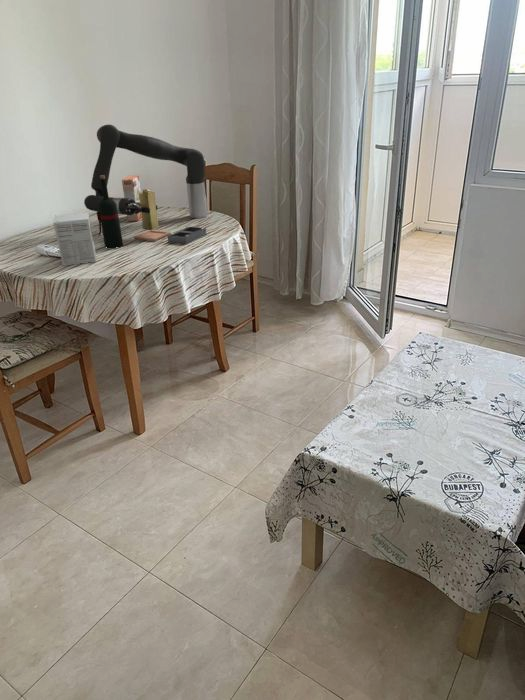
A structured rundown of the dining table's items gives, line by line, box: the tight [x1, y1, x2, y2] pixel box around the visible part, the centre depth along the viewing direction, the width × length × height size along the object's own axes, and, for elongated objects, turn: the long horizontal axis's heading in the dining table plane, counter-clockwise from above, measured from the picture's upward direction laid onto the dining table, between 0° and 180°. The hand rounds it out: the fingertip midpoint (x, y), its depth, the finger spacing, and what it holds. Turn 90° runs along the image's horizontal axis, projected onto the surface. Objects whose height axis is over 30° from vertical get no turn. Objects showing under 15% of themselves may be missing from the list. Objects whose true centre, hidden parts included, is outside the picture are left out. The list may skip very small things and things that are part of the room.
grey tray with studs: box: [167, 226, 207, 245], centre depth 237 cm, size 17×10×3 cm, turn 155°
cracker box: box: [121, 175, 142, 222], centre depth 271 cm, size 14×6×21 cm, turn 179°
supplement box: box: [53, 211, 97, 266], centre depth 211 cm, size 13×13×18 cm
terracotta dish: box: [133, 229, 172, 243], centre depth 241 cm, size 12×12×1 cm
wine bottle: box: [96, 175, 124, 249], centre depth 224 cm, size 8×10×30 cm
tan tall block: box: [139, 188, 159, 231], centre depth 235 cm, size 5×5×17 cm
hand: (153, 209), depth 234 cm, fingers closed on tan tall block, 5 cm apart
